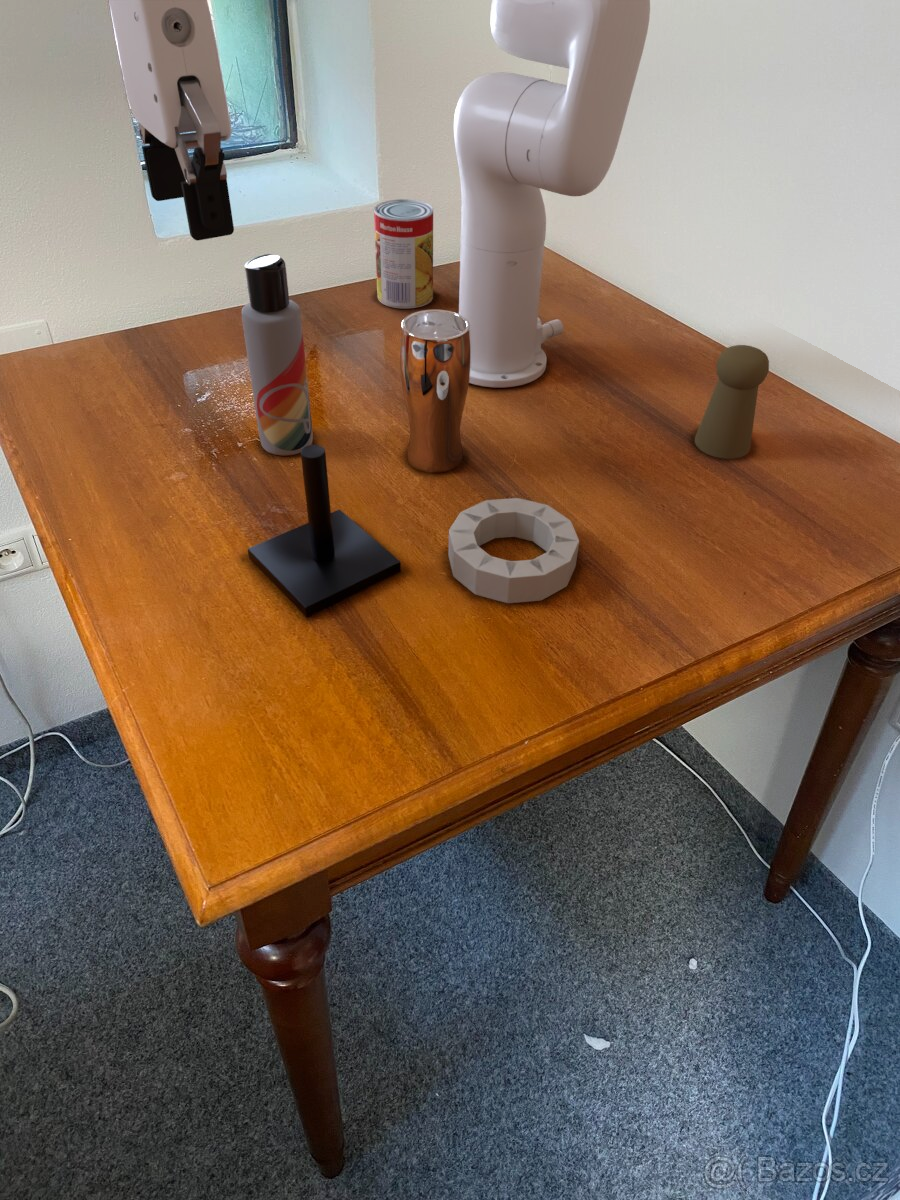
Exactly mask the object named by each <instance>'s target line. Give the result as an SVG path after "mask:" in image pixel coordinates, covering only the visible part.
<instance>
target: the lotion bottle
mask: <svg viewBox="0 0 900 1200" xmlns="http://www.w3.org/2000/svg"><path fill="white" fill-rule="evenodd" d="M244 274H245V280H246V286H247V293H248V300H249V302H248V303H246V304H245V305H244V306H243V307H242V309H241V322H242V329H243V335H244V342H245V348H246V355H247V363H248V369H249V376H250V384H251V389H252V396H253V404H254V410H255V417H256V423H257V430H258V436H259V441H260V444H261V447H262V448H263V449H264V450H265V451H266V452H267V453H269V454H271V455H275V456H284V457H285V456H286V457H287V456H293V455H298V454H301V450H302V449H303V448H304V447H306V446H309V445H313V440H314V439H313V438H314V436H313V435H314V434H313V433H314V432H313V422H312V412H311V402H310V401H311V400H310V393H309V384H308V383H309V382H308V373H307V363H306V352H305V344H304V333H303V323H302V314H301V308H300V306H299V304H297V302H295V301H293V300H291V299H290V293H289V286H288V285H289V284H288V275H287V264H286V261H285V260H284V259H283V257H281V256H280V255H277V254H273V253H268V254H265V253H264V254H261V255H258V256H255V257H253V258H251V259H250V260H248V261H247V262H246V263H245V264H244Z"/></svg>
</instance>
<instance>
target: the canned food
mask: <svg viewBox="0 0 900 1200" xmlns="http://www.w3.org/2000/svg"><path fill="white" fill-rule="evenodd" d="M373 219H374V221H373V222H374V243H375V244H374V245H375V247H374V248H375V271H376V272H375V273H376V291H377V292H376V297H377V299H378V302H380V303H381V304H382V305H385V306H386V307H390V308H394V309H400V310H401V309H403V310H404V309H405V310H406V309H407V310H409V309H416V308H421V307H424V306H426V305H428V304H430V303H431V302H432V300H433V299H434V208H433V206H432V205H431V204H429V203H427V202H425V201H422V200H417V199H410V198H409V199H408V198H399V199H398V198H397V199H390V200H385V201H381V202H379V203H378V204H376V205H375V206H374V208H373Z"/></svg>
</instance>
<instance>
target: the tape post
mask: <svg viewBox="0 0 900 1200" xmlns="http://www.w3.org/2000/svg"><path fill="white" fill-rule="evenodd" d="M326 455H327V454H326V448H324V447H323V446H322V445H318V444H311V445H309V446H306V447H304V448H303V449H302V450H301V453H300V458H301V459H300V460H301V467H302V476H303V485H304V494H305V502H306V503H305V505H306V513H307V520H308V522H307V523H303V524H301V525H299V526H297V527H295V528H292V529H289V530H288V531H285V532H283V533H281V534H279V535H277V536H276V535H275V536H274V537H272V538H271V537H270V538H269V539H267V540H264V541H262V542H260V543H258V544H255V545H252V546H250V547H248V548H247V555H248V559H249V560H250V561H251V562H252V563H253V564H254V566H256V568H258V569H259V570H260V571H261V572H262V573H263V574H264V575H265V576H266V578H268V580H269V581H270V582H271V583H272V584H273V585H274V586H275V587H276V588H277V589H278V590H279V591H280V592H281V593H282V594H283V595H284V596H285V597H286V598H287V599H288V600H289V601H290V602H291V603H292V604H293V605H294V606H295V607H296V609H298V610H299V611H300V612H301V613H302V614H303V616H305V618H309V617H311V616H313V615H315V614H317V613H319V612H321V611H323V610H325V609H327V608H329V607H331V606H334V605H335V604H338V603H340V602H341V601H344V600H345V599H347V598H349V597H351V596H354V595H357V594H358V593H360V592H362V591H364V590H366V589H368V588H371V587H372V586H374V585H376V584H378V583H381V582H382V581H385V580H387V579H388V578H390V577H393V576H395V575H397V574H399V573H401V572H402V568H401V567H402V566H401V560H399V559H398V558H397V557H396V556H395V555H394V554H393V553H391V551H389V550H387V548H385V546H383V545H382V544H381V543H380V542H378V541H377V540H376V539H375V538H374V537H372V535H370V534H369V533H368V532H366V530H364V529H363V528H362V527H361V526H360V525H359V524H357V523H356V522H355V521H354V520H352V519H351V518H350V517H349V516H348V515H347V514H346V513H345V512H343V510H341V509H340V508H339V509H337V510H334V511H332V510H331V500H330V499H331V498H330V489H329V487H330V486H329V478H328V466H327V456H326ZM331 511H332V512H331Z"/></svg>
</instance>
